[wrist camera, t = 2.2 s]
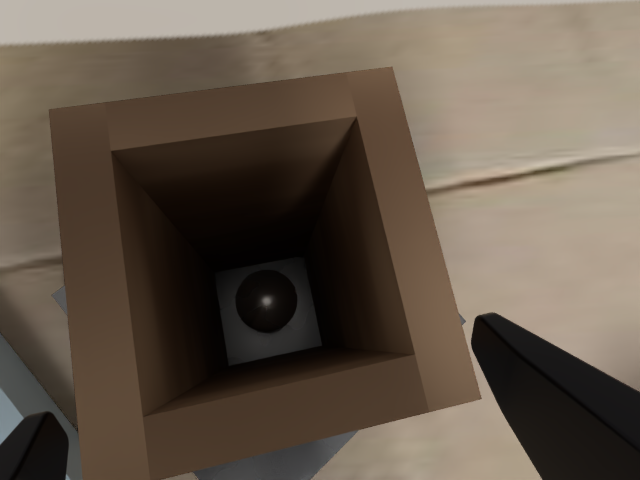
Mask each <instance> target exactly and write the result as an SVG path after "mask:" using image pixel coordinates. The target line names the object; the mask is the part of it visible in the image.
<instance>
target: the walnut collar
mask: <svg viewBox="0 0 640 480" xmlns="http://www.w3.org/2000/svg"><path fill="white" fill-rule="evenodd" d="M49 116H50V127H51V138H52V149H53V160H54V171H55V182H56V193H57V204H58V215H59V226H60V237H61V248H62V259H63V270H64V281H65V292H66V303H67V314H68V324H69V335H70V346H71V357H72V368H73V379H74V390H75V401H76V412H77V423H78V434H79V445H80V456H81V467H82V478H83V480H161V479H165V478H169V477H173V476H177V475H181V474H185V473H189V472H193V471H197V470H201V469H205V468H209V467H213V466H217V465H221V464H225V463H229V462H233V461H237V460H241V459H245V458H249V457H253V456H257V455H261V454H265V453H269V452H273V451H277V450H280V449H284V448H288V447H292V446H296V445H300V444H304V443H308V442H312V441H316V440H320V439H324V438H328V437H332V436H336V435H340V434H344V433H348V432H352V431H356V430H360V429H364V428H368V427H372V426H376V425H380V424H384V423H388V422H392V421H396V420H400V419H404V418H408V417H412V416H416V415H420V414H424V413H428V412H432V411H436V410H440V409H444V408H448V407H452V406H456V405H460V404H464V403H468V402H472V401H476V400H480V399H482V398H481V395H480V391H479V387H478V383H477V380H476V376H475V372H474V369H473V365H472V361H471V357H470V354H469V350H468V346H467V343H466V339H465V335H464V331H463V328H462V324H461V320H460V317H459V313H458V309H457V305H456V302H455V298H454V294H453V291H452V287H451V283H450V279H449V276H448V272H447V268H446V265H445V261H444V257H443V253H442V250H441V246H440V242H439V239H438V235H437V231H436V227H435V224H434V220H433V216H432V213H431V209H430V205H429V201H428V198H427V194H426V190H425V187H424V183H423V179H422V175H421V172H420V168H419V164H418V161H417V157H416V153H415V149H414V146H413V142H412V138H411V135H410V131H409V127H408V123H407V120H406V116H405V112H404V109H403V105H402V101H401V97H400V94H399V90H398V86H397V83H396V79H395V75H394V71H393V68H392V67H386V68H378V69H369V70H361V71H353V72H345V73H337V74H329V75H321V76H313V77H305V78H297V79H289V80H281V81H273V82H265V83H257V84H249V85H241V86H233V87H225V88H217V89H209V90H201V91H193V92H185V93H177V94H169V95H161V96H153V97H145V98H137V99H129V100H121V101H113V102H105V103H97V104H89V105H81V106H73V107H65V108H57V109H49ZM300 256H304V259H305V264H306V269H307V274H308V279H309V284H310V289H311V293H312V298H313V303H314V308H315V313H316V318H317V323H318V328H319V333H320V338H321V342H322V346H317V347H313V348H308V349H304V350H299V351H295V352H290V353H285V354H281V355H276V356H272V357H267V358H263V359H258V360H253V361H249V362H244V363H240V364H235V365H231V366H229V363H228V357H227V350H226V344H225V338H224V332H223V326H222V319H221V313H220V307H219V301H218V295H217V288H216V282H215V276H214V273H215V272H220V271H225V270H231V269H236V268H241V267H247V266H252V265H257V264H263V263H268V262H274V261H279V260H284V259H290V258H295V257H300Z"/></svg>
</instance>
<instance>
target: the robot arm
mask: <svg viewBox="0 0 640 480" xmlns="http://www.w3.org/2000/svg"><path fill="white" fill-rule="evenodd" d="M471 346H472V350H473V352H474V354H475V356H476V359H477V361H478V363H479V365H480V367H481V369H482V371H483V373H484V376H485V378H486V380H487V382H488V384H489V386H490V388H491V391H492V393H493V395H494V397H495V399H496V401H497V403H498V405H499V407H500V409H501V411H502V413H503V415H504V417H505V418H506V420H507V422H508V423H509V425H510V427H511V428H512V430H513V432H514V433H515V435H516V437H517V438H518V440H519V442H520V443H521V445H522V447H523V448H524V450H525V452H526V453H527V455H528V457H529V458H530V460H531V462H532V463H533V465H534V467H535V468H536V470H537V471H538V473H539V475H540V476H541V478H542V480H640V392H639V391H637V390H635V389H633V388H631V387H630V386H628V385H626V384H624V383H622V382H620V381H619V380H617V379H615V378H613V377H611V376H610V375H608V374H606V373H604V372H602V371H600V370H599V369H597V368H595V367H593V366H591V365H590V364H588V363H586V362H584V361H582V360H580V359H579V358H577V357H575V356H573V355H571V354H570V353H568V352H566V351H564V350H562V349H560V348H559V347H557V346H555V345H553V344H551V343H550V342H548V341H546V340H544V339H542V338H540V337H539V336H537V335H535V334H533V333H531V332H530V331H528V330H526V329H524V328H522V327H520V326H519V325H517V324H515V323H513V322H511V321H510V320H508V319H506V318H504V317H502V316H500V315H499V314H497V313H487V314H482V315H478V316H477V317H476V318H475V321H474V327H473V333H472V338H471ZM68 451H69V439H68V436H67V433H66V432H65V430H64V429H63V427H62V426H61V424H60V423H59V421H58V420H57V418H56V417H55V415H54V414H53V413H52V412H50V411H44V412H39V413H35V414H30V415H28V416H26V417H25V418H24V419H23V420H22V421H21V422H20V423H19V424H18V425H17V426H16V427H15V428H14V430H13V431H12V432H11V433H10V434H9V435H8V436H7V437H6V438H5V440H4V441H3V442H2V443H1V444H0V480H66V472H67V461H68Z"/></svg>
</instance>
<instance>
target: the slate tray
mask: <svg viewBox="0 0 640 480" xmlns="http://www.w3.org/2000/svg"><path fill="white" fill-rule="evenodd" d="M44 411H50V412H52V413H53V414H54V415H55V417H56V418H57V420H58V421H59V423H60V424H61V426H62V427H63V429H64V430H65V432H66V433H67V436H68V439H69V451H68V461H67V472H66V480H83V478H82V467H81V456H80V445H79V434H78V432H77V431H76V430H75V428H74V427H73V426H72V425H71V423H70V422H69V421H68V419H67V418H66V417H65V416H64V414H63V413H62V412H61V410H60V409H59V408H58V407H57V405H56V404H55V403H54V401H53V400H52V399H51V398H50V396H49V395H48V394H47V392H46V391H45V390H44V389H43V387H42V386H41V385H40V383H39V382H38V381H37V380H36V378H35V377H34V376H33V374H32V373H31V372H30V371H29V369H28V368H27V367H26V365H25V364H24V363H23V362H22V360H21V359H20V358H19V356H18V355H17V354H16V353H15V351H14V350H13V349H12V347H11V346H10V345H9V344H8V342H7V341H6V340H5V338H4V337H3V336H2V335H1V333H0V444H1V443H2V442H3V441H4V440H5V438H6V437H7V436H8V435H9V434H10V433H11V432H12V431H13V430H14V428H15V427H16V426H17V425H18V424H19V423H20V422H21V421H22V420H23V419H24V418H25V417H26V416H28V415H30V414H35V413H39V412H44Z"/></svg>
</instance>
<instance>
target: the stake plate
mask: <svg viewBox="0 0 640 480" xmlns="http://www.w3.org/2000/svg"><path fill="white" fill-rule="evenodd" d="M214 276H215V282H216V288H217V295H218V301H219V307H220V313H221V319H222V326H223V332H224V338H225V344H226V350H227V357H228V363H229V366H231V365H235V364H240V363H244V362H249V361H253V360H258V359H263V358H267V357H272V356H276V355H281V354H285V353H290V352H295V351H299V350H304V349H308V348H313V347H317V346H322V342H321V338H320V333H319V328H318V323H317V318H316V313H315V308H314V303H313V298H312V293H311V289H310V284H309V279H308V274H307V269H306V264H305V259H304V256H300V257H295V258H290V259H284V260H279V261H274V262H268V263H263V264H257V265H252V266H247V267H241V268H236V269H231V270H225V271H220V272H215V273H214ZM52 297H53V298H54V299H55V300H56V302H57V303H58V304H59V305H60V307H61V308H62V309H63V310H64V312H65V313H66V314H67V303H66V292H65V286H63V287H62V288H61V289H59V290H58V291H57V292H55V293H54V294H53V295H52ZM67 315H68V314H67ZM459 317H460V320H461V324H462V325H463V324H464V323H465V322H466V321H465V320H464V318H463V317H462V316H461V315H460V314H459ZM357 431H358V430H356V431H352V432H348V433H344V434H340V435H336V436H332V437H328V438H324V439H320V440H316V441H312V442H308V443H304V444H300V445H296V446H292V447H288V448H284V449H280V450H277V451H273V452H269V453H265V454H261V455H257V456H253V457H249V458H245V459H241V460H237V461H233V462H229V463H225V464H221V465H217V466H213V467H209V468H205V469H201V470H197V471H193V473H194V474H195V475H196V476H197V478H198V479H199V480H310V479H311V478H312V477H313V476H314V475H315V474H316V473H317V472H318V471H319V470H320V469H321V468H322V467H323V466H324V465H325V464H326V463H327V462H328V461H329V460H330V459H331V458H332V457H333V456H334V455H335V454H336V453H337V452H338V451H339V450H340V449H341V448H342V447H343V446H344V445H345V444H346V443H347V442H348V441H349V440H350V439H351V438H352V437H353V436H354V435H355V433H356V432H357Z"/></svg>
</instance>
